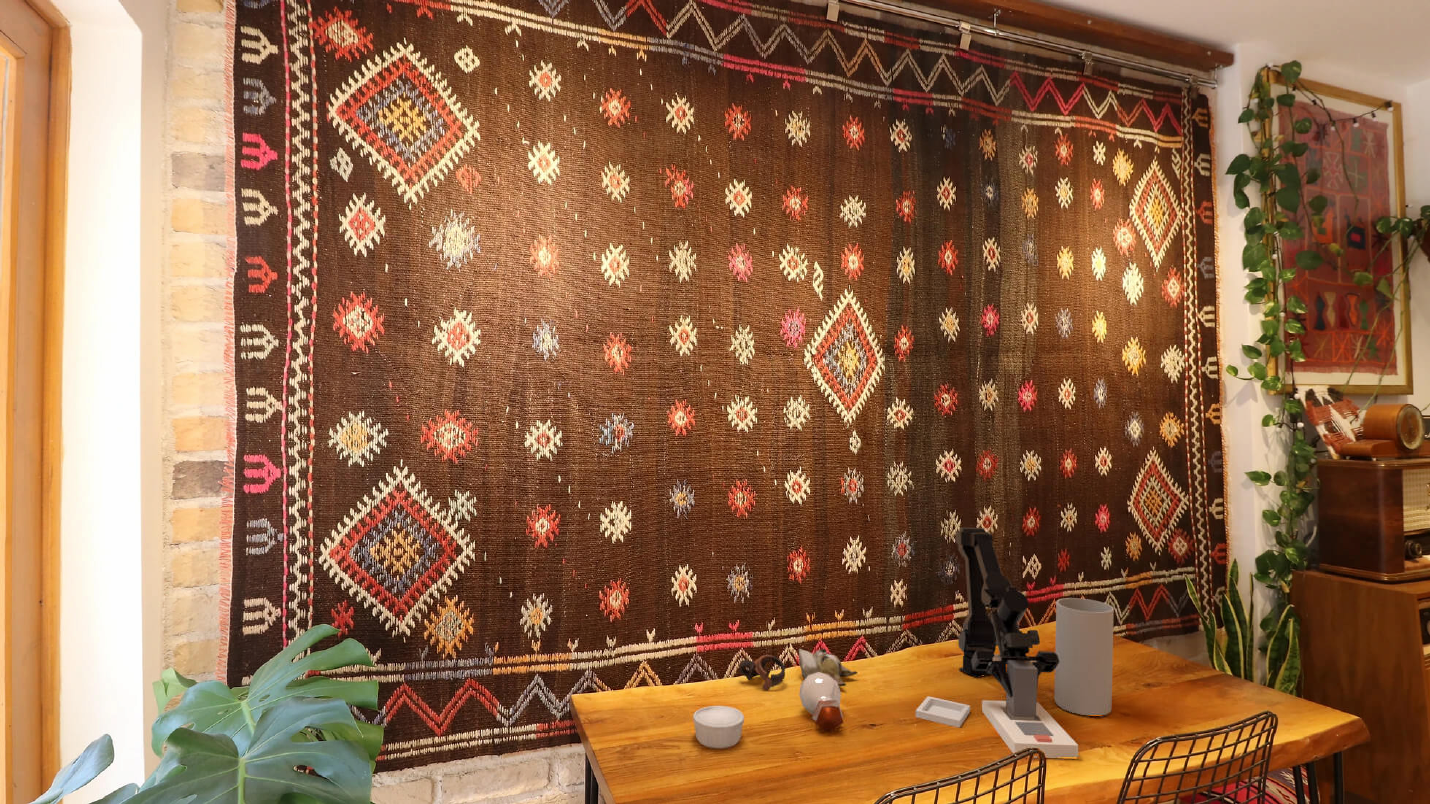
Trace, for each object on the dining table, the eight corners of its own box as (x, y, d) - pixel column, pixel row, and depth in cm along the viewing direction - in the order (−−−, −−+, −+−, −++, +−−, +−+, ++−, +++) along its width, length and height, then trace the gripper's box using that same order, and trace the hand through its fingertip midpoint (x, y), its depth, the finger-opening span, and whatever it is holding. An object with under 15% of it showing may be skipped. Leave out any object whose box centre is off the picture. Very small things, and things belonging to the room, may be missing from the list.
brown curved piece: (778, 677, 202) (787, 655, 198) (778, 705, 194) (788, 683, 190) (735, 665, 201) (743, 644, 197) (733, 694, 193) (742, 671, 189)
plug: (1005, 715, 175) (1007, 659, 175) (1027, 716, 175) (1029, 660, 174) (1013, 725, 170) (1015, 668, 170) (1035, 726, 170) (1037, 669, 169)
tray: (927, 704, 184) (927, 696, 184) (969, 713, 179) (970, 705, 179) (915, 718, 176) (915, 710, 176) (959, 729, 170) (959, 720, 170)
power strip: (982, 712, 180) (982, 697, 180) (1037, 714, 179) (1037, 699, 179) (1014, 757, 158) (1015, 740, 158) (1078, 759, 157) (1078, 742, 157)
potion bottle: (819, 709, 184) (834, 746, 168) (787, 687, 182) (799, 722, 167) (843, 679, 183) (860, 713, 168) (811, 657, 182) (825, 689, 167)
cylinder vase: (1118, 720, 177) (1120, 614, 176) (1061, 715, 179) (1063, 610, 179) (1102, 699, 189) (1104, 600, 189) (1049, 694, 191) (1051, 596, 191)
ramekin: (714, 723, 172) (715, 700, 172) (754, 738, 165) (754, 714, 165) (682, 740, 163) (682, 716, 163) (722, 757, 156) (722, 731, 156)
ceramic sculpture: (807, 637, 206) (859, 650, 199) (804, 668, 207) (857, 682, 200) (791, 649, 197) (846, 663, 190) (789, 681, 198) (844, 696, 190)
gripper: (975, 615, 176) (990, 680, 166) (1057, 617, 176) (1076, 682, 165) (965, 637, 184) (978, 700, 174) (1043, 639, 184) (1060, 703, 173)
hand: (1023, 696), depth 171 cm, fingers closed on plug, 5 cm apart
